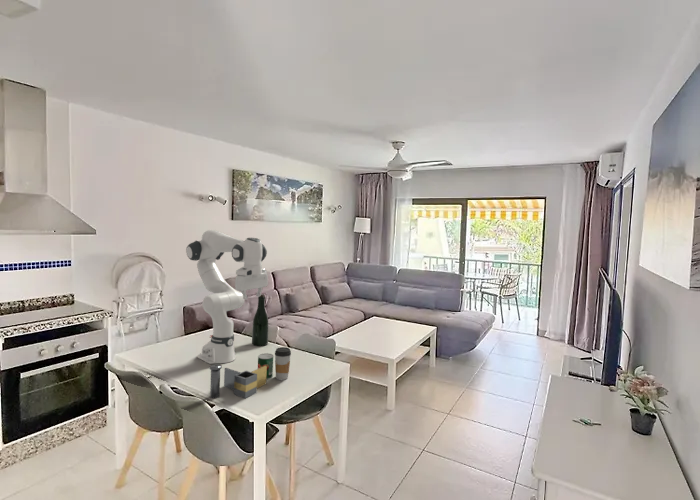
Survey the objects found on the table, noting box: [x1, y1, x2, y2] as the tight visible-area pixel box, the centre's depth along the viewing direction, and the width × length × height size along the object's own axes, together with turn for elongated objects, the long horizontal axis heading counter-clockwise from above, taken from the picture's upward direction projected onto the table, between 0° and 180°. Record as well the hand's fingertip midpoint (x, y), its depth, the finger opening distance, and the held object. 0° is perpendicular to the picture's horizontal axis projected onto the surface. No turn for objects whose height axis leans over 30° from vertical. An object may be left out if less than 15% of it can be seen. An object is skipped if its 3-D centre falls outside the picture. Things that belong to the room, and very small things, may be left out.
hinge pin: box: [209, 363, 223, 399], centre depth 172 cm, size 5×5×14 cm
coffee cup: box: [274, 346, 292, 381], centre depth 196 cm, size 8×8×15 cm
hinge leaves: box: [223, 366, 267, 399], centre depth 183 cm, size 17×17×9 cm
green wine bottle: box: [251, 293, 269, 347], centre depth 246 cm, size 10×10×33 cm
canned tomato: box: [257, 352, 275, 380], centre depth 196 cm, size 8×8×11 cm
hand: (252, 297), depth 190 cm, fingers open, 8 cm apart
